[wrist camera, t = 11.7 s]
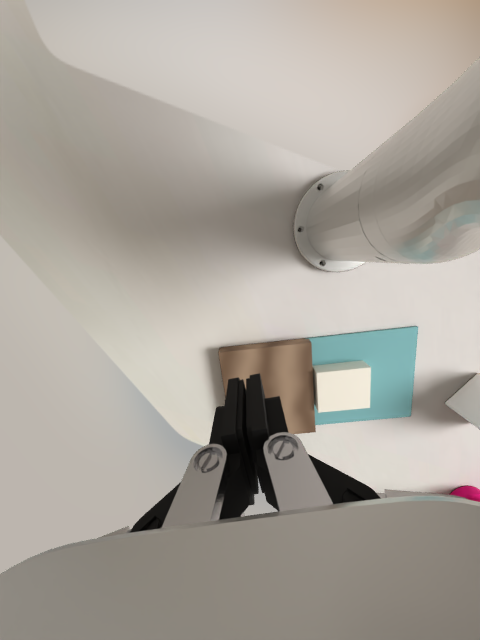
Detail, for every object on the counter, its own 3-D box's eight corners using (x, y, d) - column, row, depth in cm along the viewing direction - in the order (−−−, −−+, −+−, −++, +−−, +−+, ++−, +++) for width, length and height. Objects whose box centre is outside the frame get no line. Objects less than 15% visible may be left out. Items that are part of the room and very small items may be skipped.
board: (307, 337, 36) (311, 342, 34) (312, 423, 40) (315, 432, 38) (219, 347, 37) (218, 352, 35) (232, 430, 41) (232, 439, 39)
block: (362, 360, 36) (370, 367, 34) (362, 398, 38) (370, 407, 36) (312, 365, 37) (316, 373, 35) (314, 403, 39) (318, 412, 36)
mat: (416, 326, 35) (418, 326, 35) (409, 414, 39) (410, 416, 39) (304, 338, 36) (305, 339, 36) (309, 423, 40) (309, 425, 40)
